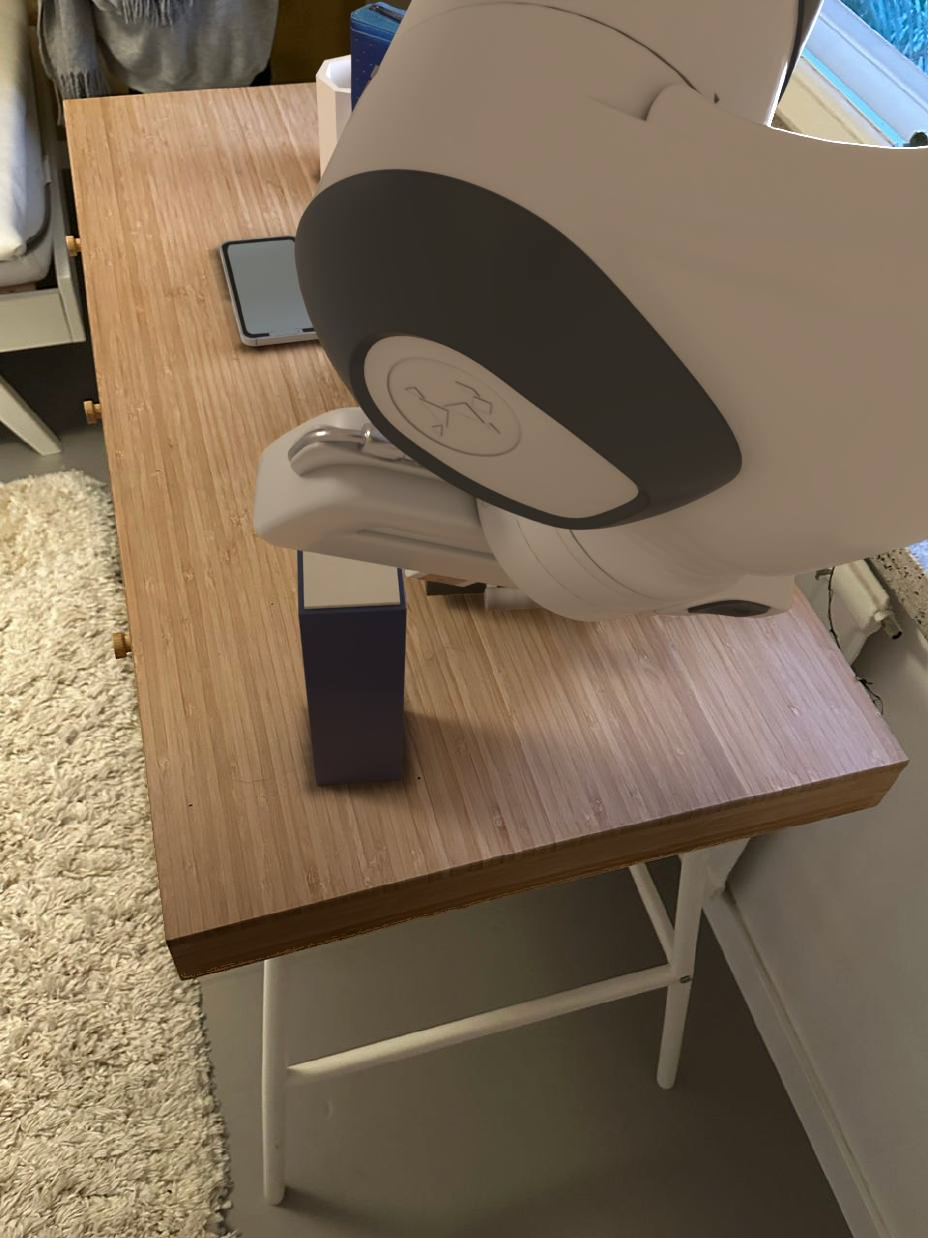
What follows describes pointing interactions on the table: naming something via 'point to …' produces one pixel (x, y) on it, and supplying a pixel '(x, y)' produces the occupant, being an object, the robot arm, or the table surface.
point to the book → (370, 42)
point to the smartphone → (266, 290)
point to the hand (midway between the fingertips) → (433, 565)
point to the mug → (332, 104)
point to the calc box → (353, 666)
